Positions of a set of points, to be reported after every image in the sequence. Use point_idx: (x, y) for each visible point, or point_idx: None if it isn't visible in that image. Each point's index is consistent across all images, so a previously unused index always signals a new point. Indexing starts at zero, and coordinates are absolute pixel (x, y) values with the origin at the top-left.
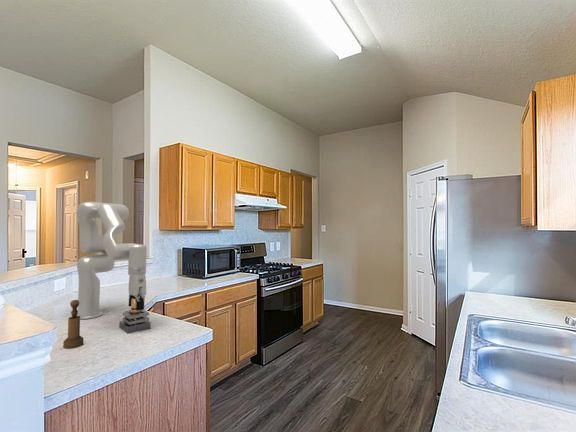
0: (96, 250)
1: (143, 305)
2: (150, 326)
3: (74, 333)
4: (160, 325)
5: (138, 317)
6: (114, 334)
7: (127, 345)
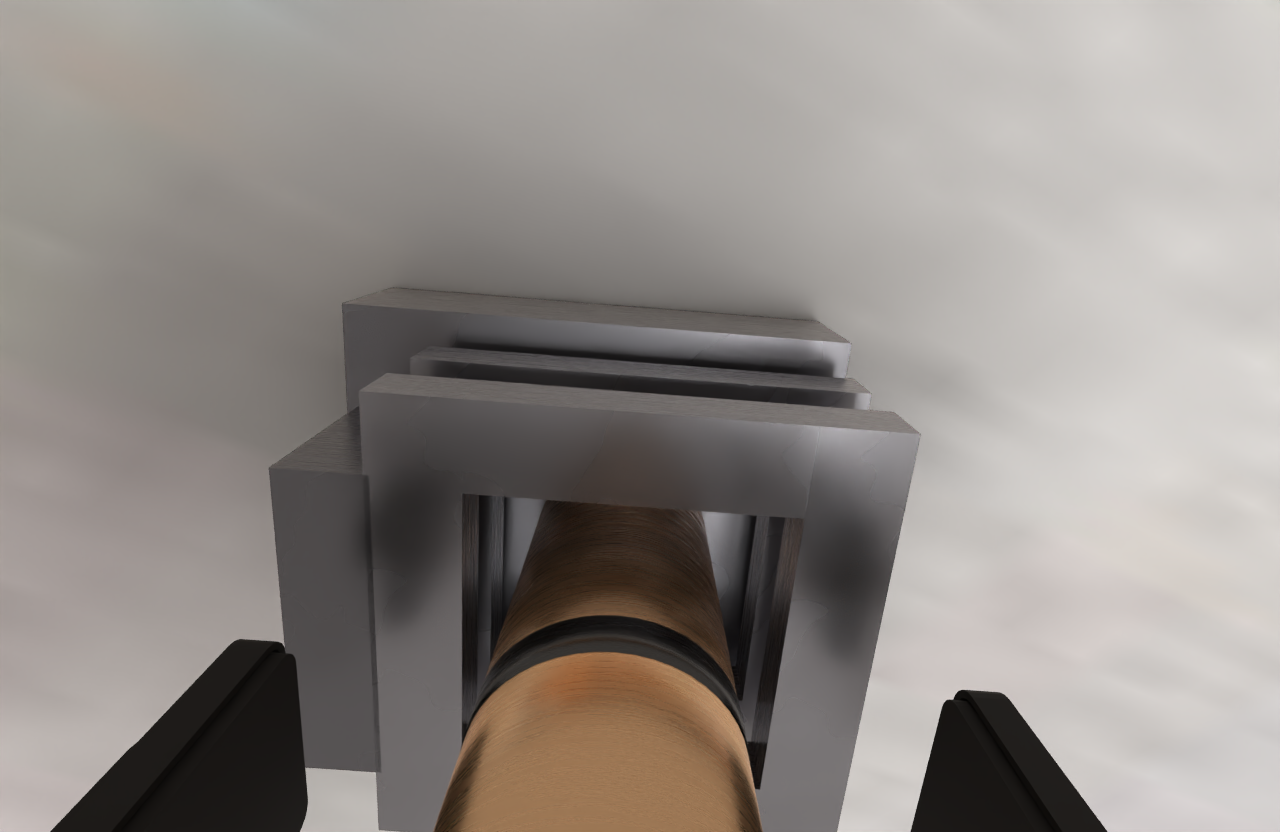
0: None
1: (1071, 809)
2: (829, 329)
3: None
4: (795, 96)
5: (714, 577)
6: None
7: (1175, 799)
